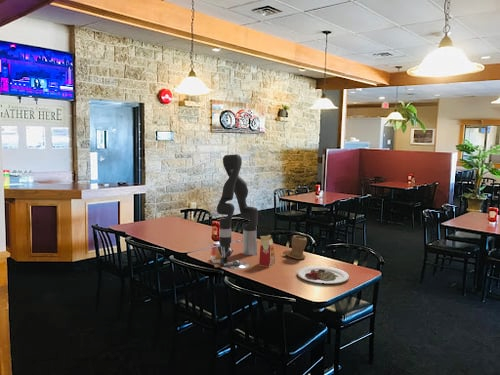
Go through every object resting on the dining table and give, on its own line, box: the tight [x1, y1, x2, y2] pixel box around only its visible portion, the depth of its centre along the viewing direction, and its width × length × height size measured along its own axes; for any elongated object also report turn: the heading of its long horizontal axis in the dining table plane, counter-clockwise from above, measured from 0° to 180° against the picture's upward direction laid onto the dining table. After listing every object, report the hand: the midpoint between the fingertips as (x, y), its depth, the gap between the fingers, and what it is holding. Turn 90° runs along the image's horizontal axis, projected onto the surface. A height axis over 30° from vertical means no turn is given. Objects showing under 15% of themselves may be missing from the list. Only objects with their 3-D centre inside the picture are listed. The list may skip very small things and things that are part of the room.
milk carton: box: [258, 234, 277, 269], centre depth 259 cm, size 9×9×20 cm
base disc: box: [213, 261, 250, 270], centre depth 256 cm, size 22×16×2 cm
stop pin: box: [215, 247, 222, 260], centre depth 266 cm, size 4×4×8 cm
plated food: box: [296, 265, 350, 285], centre depth 240 cm, size 30×30×3 cm
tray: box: [210, 255, 220, 264], centre depth 266 cm, size 9×9×2 cm
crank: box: [219, 257, 241, 268], centre depth 256 cm, size 13×4×5 cm, turn 105°
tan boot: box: [282, 234, 308, 260], centre depth 278 cm, size 15×12×15 cm
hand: (225, 262), depth 251 cm, fingers closed
